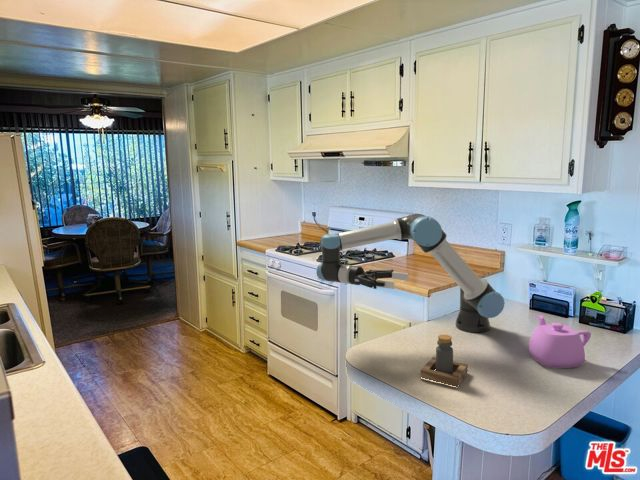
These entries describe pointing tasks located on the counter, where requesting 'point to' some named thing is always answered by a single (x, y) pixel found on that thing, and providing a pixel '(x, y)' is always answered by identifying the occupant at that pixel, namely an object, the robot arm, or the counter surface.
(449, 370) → the bottle
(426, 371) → the block
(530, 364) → the counter surface
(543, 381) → the counter surface
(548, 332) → the teapot
